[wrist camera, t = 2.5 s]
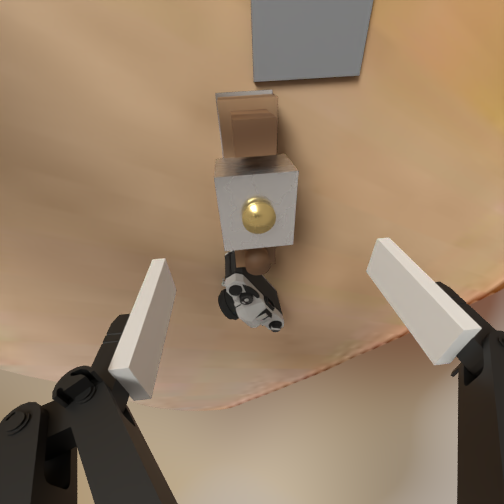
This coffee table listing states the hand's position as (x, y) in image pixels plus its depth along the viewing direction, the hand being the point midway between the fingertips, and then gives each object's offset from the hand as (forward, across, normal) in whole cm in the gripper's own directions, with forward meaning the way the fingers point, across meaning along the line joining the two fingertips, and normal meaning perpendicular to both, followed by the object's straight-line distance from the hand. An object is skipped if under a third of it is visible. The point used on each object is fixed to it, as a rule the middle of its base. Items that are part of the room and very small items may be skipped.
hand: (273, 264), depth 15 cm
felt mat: (+16, +6, +14) cm, 22 cm away
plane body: (+16, 0, -1) cm, 16 cm away
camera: (+16, -2, -17) cm, 24 cm away
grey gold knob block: (+11, 0, 0) cm, 11 cm away
